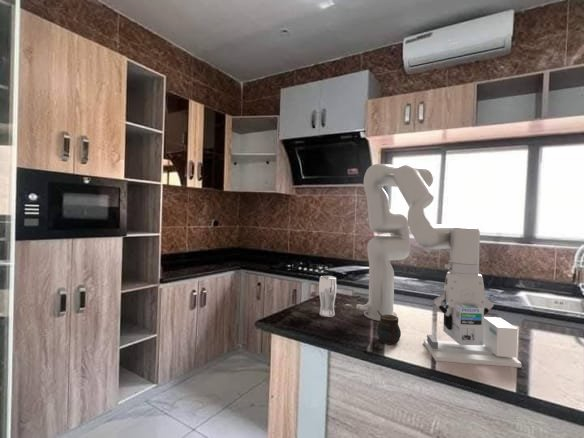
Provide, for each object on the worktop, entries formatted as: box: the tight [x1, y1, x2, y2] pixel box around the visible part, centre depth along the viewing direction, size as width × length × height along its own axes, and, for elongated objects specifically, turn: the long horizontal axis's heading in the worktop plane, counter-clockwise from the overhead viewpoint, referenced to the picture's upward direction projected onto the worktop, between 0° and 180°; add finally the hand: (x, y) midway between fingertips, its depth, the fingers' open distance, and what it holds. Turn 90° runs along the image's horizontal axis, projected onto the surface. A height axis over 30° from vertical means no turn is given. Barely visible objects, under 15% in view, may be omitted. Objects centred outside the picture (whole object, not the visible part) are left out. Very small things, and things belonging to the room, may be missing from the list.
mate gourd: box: [376, 311, 402, 346], centre depth 100 cm, size 7×8×10 cm
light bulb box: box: [442, 302, 485, 346], centre depth 93 cm, size 11×7×11 cm, turn 179°
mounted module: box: [483, 316, 518, 358], centre depth 91 cm, size 5×9×8 cm, turn 172°
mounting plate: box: [423, 334, 522, 368], centre depth 93 cm, size 22×12×4 cm, turn 82°
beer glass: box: [318, 275, 338, 318], centre depth 126 cm, size 7×7×15 cm
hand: (462, 328), depth 93 cm, fingers closed on light bulb box, 7 cm apart
